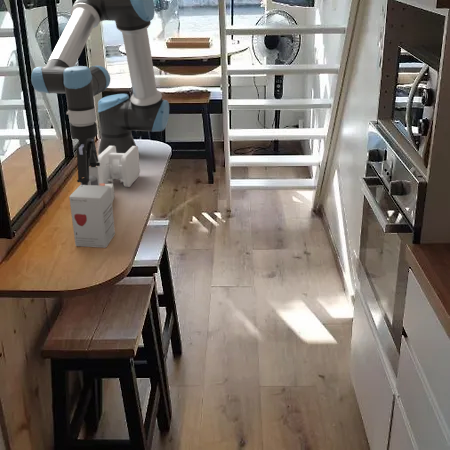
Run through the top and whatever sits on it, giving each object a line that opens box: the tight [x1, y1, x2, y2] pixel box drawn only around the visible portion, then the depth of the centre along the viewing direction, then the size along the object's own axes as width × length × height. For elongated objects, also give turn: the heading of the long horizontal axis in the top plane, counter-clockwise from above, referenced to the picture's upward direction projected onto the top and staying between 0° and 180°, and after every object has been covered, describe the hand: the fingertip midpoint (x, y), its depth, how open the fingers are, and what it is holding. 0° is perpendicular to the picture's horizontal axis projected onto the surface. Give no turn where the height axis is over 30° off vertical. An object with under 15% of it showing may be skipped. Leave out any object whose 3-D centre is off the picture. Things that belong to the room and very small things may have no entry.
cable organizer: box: [96, 145, 141, 188], centre depth 208 cm, size 15×11×12 cm
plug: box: [89, 176, 98, 185], centre depth 182 cm, size 5×5×10 cm
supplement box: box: [68, 184, 116, 249], centre depth 167 cm, size 9×9×15 cm
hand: (91, 194), depth 182 cm, fingers open, 11 cm apart
